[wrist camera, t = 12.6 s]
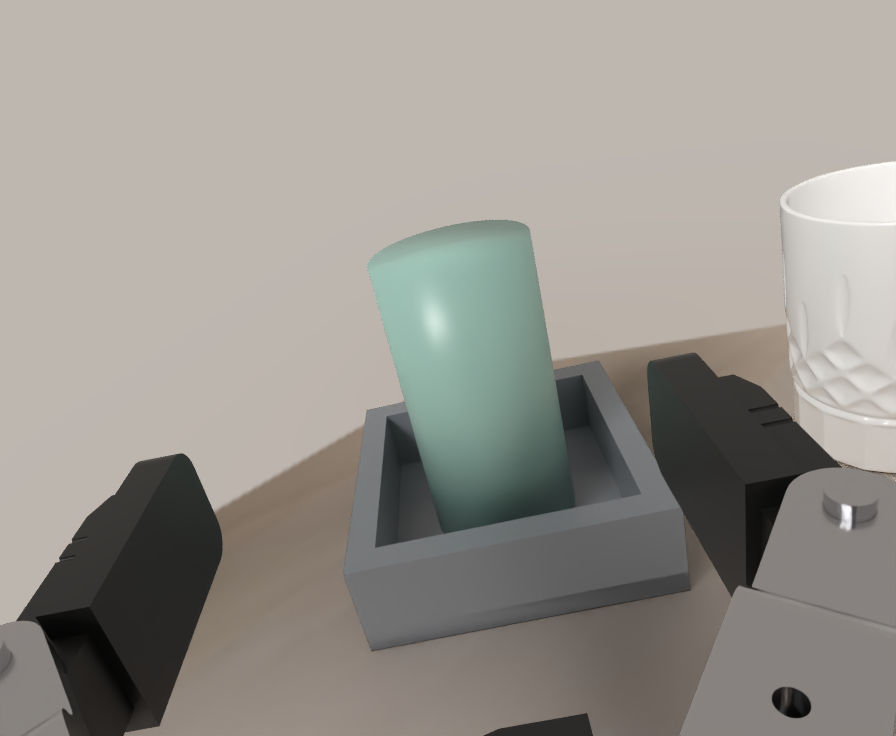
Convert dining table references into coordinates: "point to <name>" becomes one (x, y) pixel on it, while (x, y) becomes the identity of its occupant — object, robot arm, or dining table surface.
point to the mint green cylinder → (476, 371)
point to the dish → (512, 530)
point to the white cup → (843, 311)
